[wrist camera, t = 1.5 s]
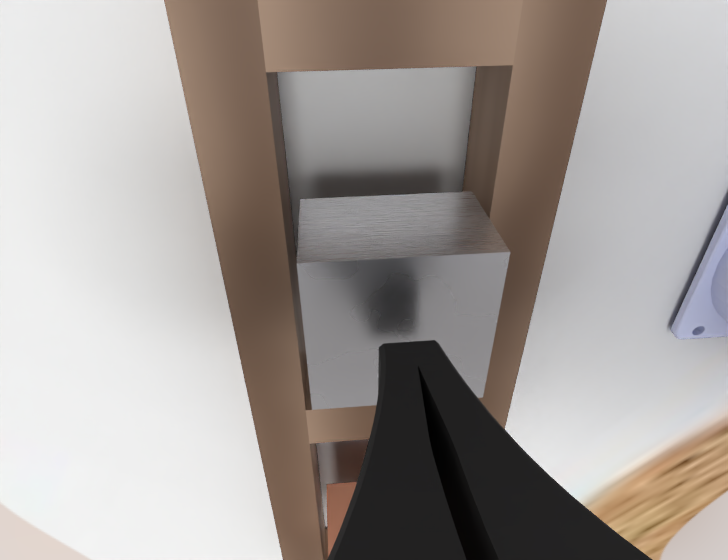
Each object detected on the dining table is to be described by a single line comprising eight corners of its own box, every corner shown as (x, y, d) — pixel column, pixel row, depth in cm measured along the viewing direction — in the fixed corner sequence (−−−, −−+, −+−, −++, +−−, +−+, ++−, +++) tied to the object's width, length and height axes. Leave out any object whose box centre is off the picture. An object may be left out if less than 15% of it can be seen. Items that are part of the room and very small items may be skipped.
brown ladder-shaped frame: (559, -38, 13) (615, -34, 11) (454, 534, 30) (467, 586, 28) (188, -32, 13) (158, -27, 10) (294, 548, 30) (292, 602, 27)
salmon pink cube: (436, 475, 22) (453, 551, 19) (429, 532, 25) (443, 606, 22) (326, 484, 22) (328, 563, 19) (331, 541, 25) (334, 617, 22)
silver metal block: (472, 191, 14) (510, 251, 11) (455, 323, 17) (482, 397, 14) (300, 199, 14) (296, 263, 11) (312, 332, 17) (311, 409, 14)
